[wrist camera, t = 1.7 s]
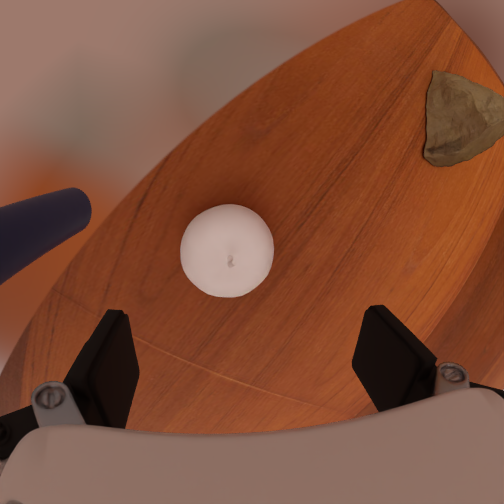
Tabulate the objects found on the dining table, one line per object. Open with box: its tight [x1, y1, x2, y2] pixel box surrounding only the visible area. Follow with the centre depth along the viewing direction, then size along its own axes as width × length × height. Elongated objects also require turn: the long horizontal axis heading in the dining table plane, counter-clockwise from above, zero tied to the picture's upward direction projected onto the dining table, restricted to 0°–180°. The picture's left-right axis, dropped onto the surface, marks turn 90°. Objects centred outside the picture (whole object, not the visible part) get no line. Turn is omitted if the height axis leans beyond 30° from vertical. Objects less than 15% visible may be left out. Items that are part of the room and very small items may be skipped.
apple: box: [180, 204, 274, 297], centre depth 21 cm, size 7×7×8 cm
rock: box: [424, 70, 504, 167], centre depth 21 cm, size 11×9×10 cm
